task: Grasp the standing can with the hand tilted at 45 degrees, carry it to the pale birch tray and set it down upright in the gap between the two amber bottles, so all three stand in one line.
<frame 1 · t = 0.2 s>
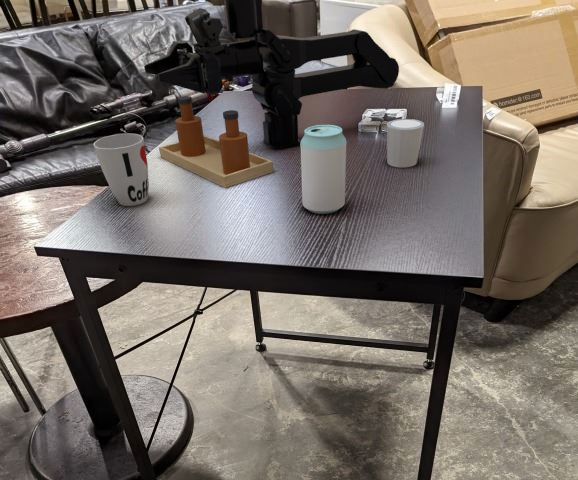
hand: (151, 73, 94), 17 cm above the table, tool horizontal, fingers open, 9 cm apart
can: (323, 207, 87), on the table
amber bottle far: (193, 152, 110), resting on tray
tray: (214, 164, 105), on the table
amber bottle near: (236, 171, 100), resting on tray
shot glass: (401, 163, 101), on the table
cup: (133, 201, 93), on the table
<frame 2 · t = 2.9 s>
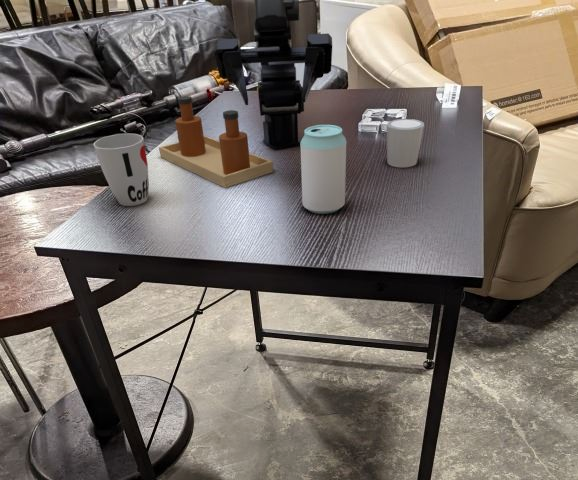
hand: (275, 101, 84), 14 cm above the table, tool tilted 50°, fingers open, 9 cm apart
nothing on the table moved.
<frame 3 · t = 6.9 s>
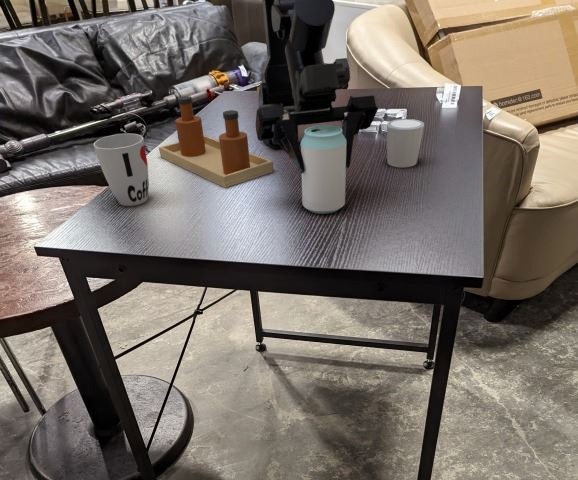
hand: (325, 169, 82), 7 cm above the table, tool tilted 45°, fingers closed on can, 7 cm apart
can: (323, 208, 87), on the table, touching gripper
everything else where it was.
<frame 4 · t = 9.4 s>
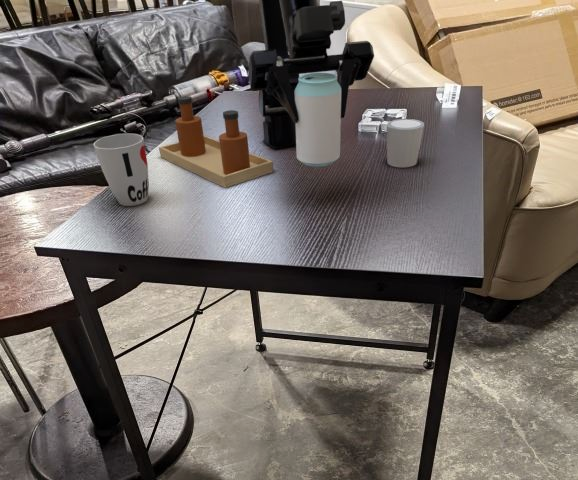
hand: (320, 119, 80), 13 cm above the table, tool tilted 45°, fingers closed on can, 7 cm apart
can: (318, 161, 86), point 6 cm above the table, touching gripper
everything else where it was.
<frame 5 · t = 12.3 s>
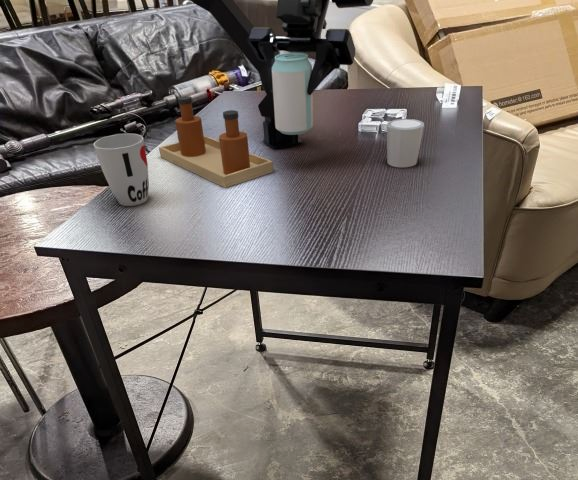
hand: (289, 92, 93), 13 cm above the table, tool tilted 45°, fingers closed on can, 7 cm apart
can: (294, 130, 98), point 6 cm above the table, touching gripper
everything else where it was.
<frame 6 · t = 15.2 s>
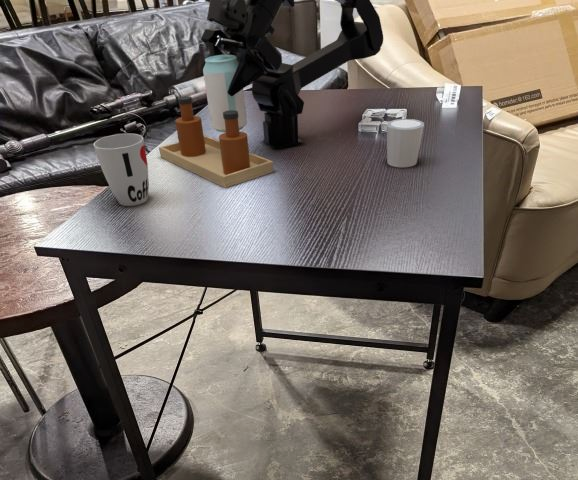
hand: (218, 91, 98), 13 cm above the table, tool tilted 45°, fingers closed on can, 7 cm apart
can: (229, 129, 104), point 6 cm above the table, touching gripper
everything else where it was.
when the fingers open (7 cm above the table, at t = 17.7 s): can stays where it is, resting on tray.
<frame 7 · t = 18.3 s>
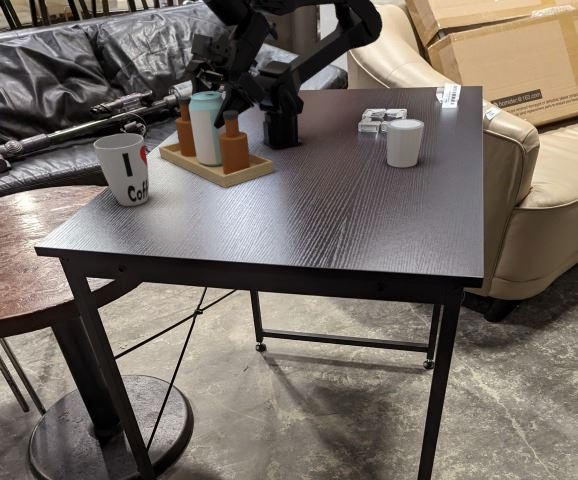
hand: (202, 122, 100), 8 cm above the table, tool tilted 45°, fingers open, 9 cm apart
can: (215, 162, 105), resting on tray
everything else where it was.
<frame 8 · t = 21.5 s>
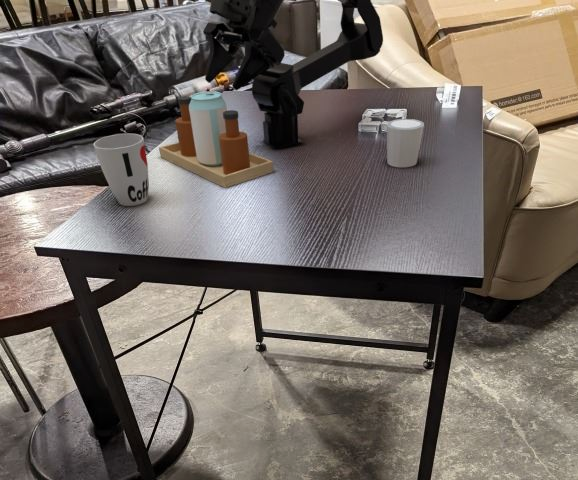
hand: (220, 84, 98), 14 cm above the table, tool tilted 45°, fingers open, 9 cm apart
nothing on the table moved.
at the end: can 0.2 cm off-centre in the tray, point 0.3 cm above the tray's base; can tilted 0°; amber bottle far moved 0.0 cm from its start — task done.
